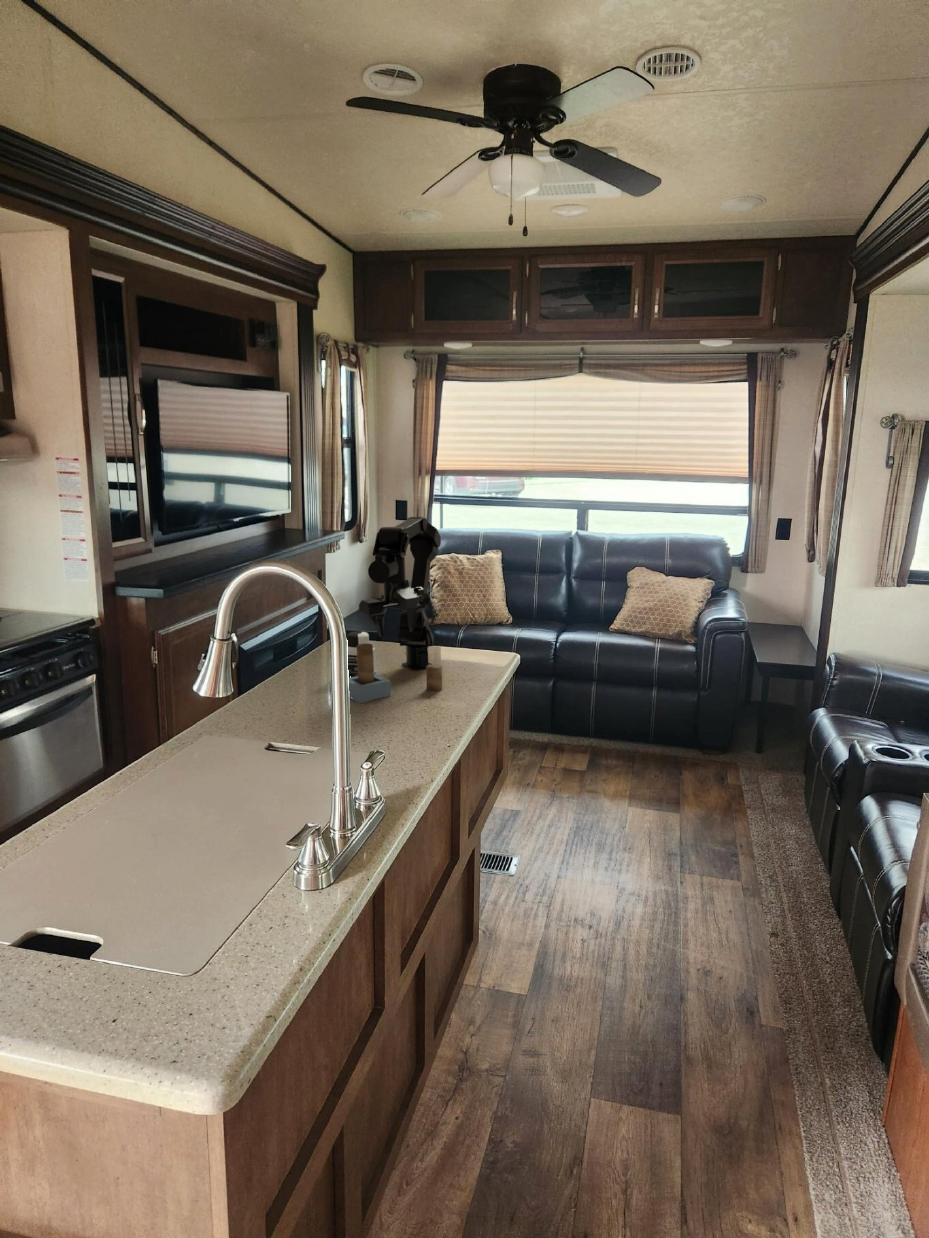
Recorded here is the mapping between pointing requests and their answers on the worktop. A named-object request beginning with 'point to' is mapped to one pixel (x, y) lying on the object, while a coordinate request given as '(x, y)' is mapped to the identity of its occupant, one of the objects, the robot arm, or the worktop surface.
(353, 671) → the medicine bottle
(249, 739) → the worktop surface
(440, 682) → the short pin
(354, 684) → the socket block
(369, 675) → the tall pin
